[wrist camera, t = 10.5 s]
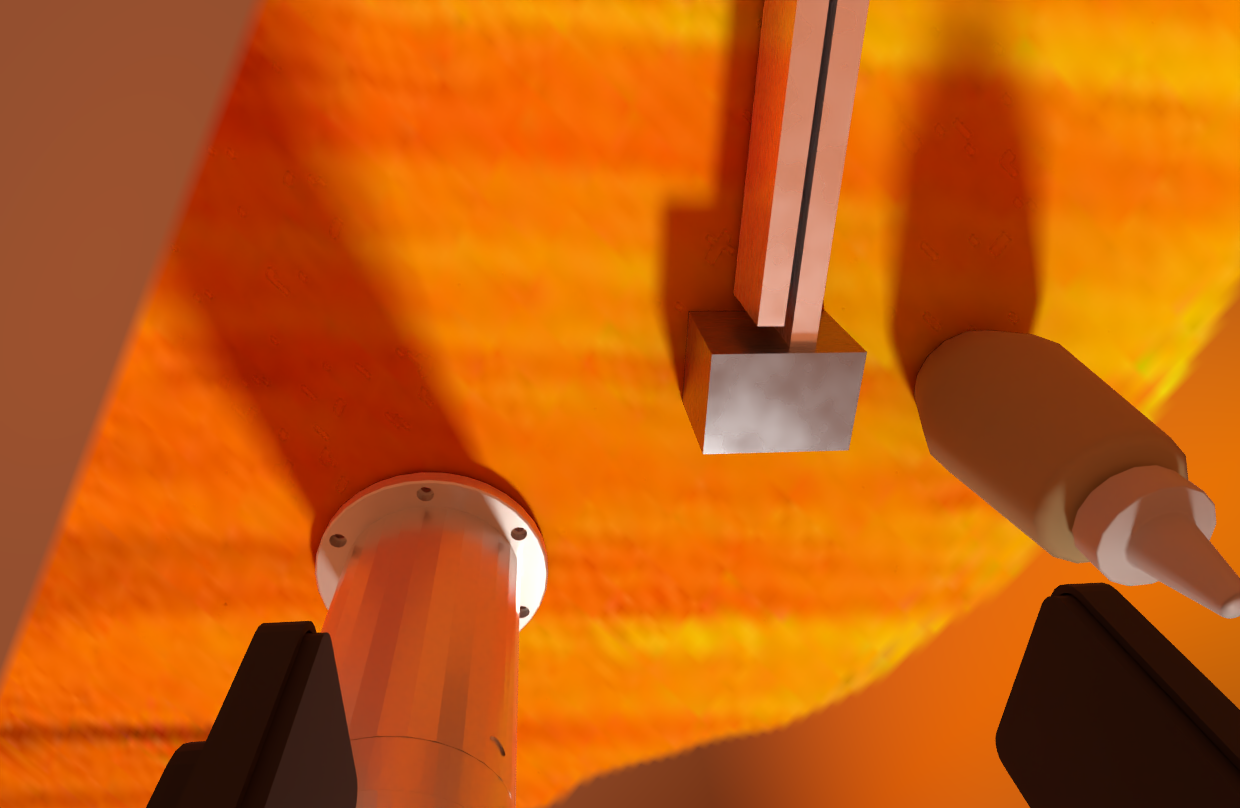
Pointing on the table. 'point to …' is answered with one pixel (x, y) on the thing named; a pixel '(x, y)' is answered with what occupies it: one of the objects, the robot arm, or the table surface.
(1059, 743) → the robot arm
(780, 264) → the tong arm
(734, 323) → the tong base
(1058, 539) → the squeeze bottle
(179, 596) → the table surface
